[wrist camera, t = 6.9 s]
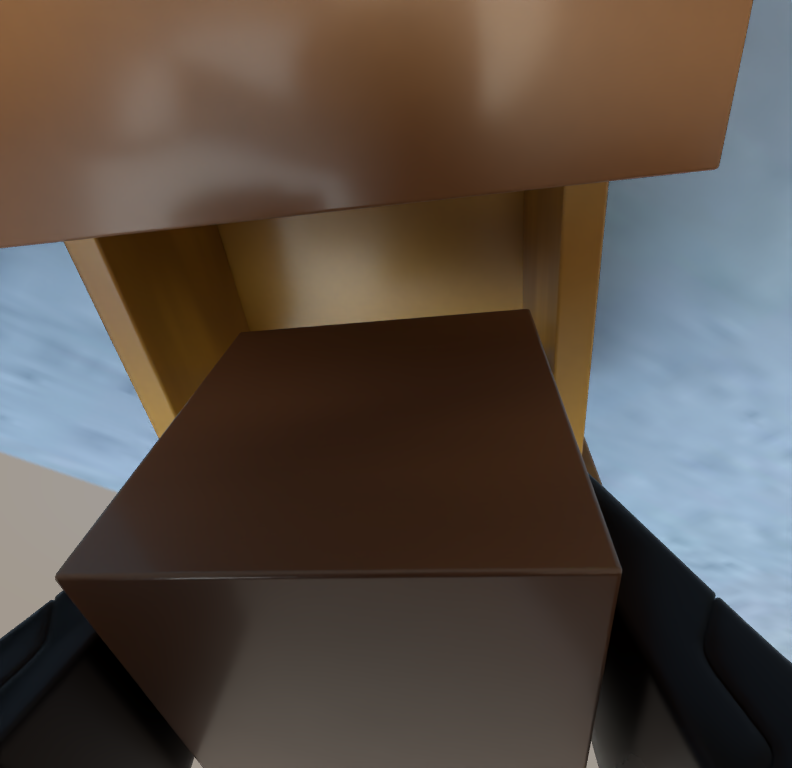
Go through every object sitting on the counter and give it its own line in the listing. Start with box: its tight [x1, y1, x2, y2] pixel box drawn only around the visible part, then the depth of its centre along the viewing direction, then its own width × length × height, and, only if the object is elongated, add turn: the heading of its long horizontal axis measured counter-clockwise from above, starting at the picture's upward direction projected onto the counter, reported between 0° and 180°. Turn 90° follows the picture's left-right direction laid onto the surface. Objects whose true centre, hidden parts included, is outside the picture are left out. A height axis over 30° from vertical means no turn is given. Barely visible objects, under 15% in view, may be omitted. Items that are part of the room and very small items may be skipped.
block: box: [55, 309, 622, 768], centre depth 8 cm, size 5×5×5 cm
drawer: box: [63, 181, 609, 485], centre depth 15 cm, size 17×12×7 cm
